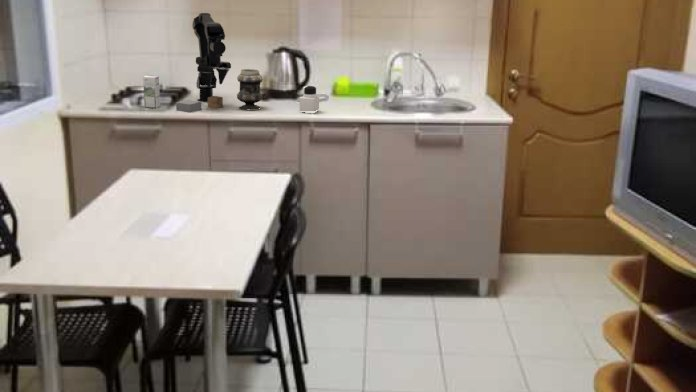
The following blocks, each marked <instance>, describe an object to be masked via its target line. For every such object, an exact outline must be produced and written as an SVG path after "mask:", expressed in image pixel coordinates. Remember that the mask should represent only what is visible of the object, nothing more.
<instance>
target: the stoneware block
mask: <svg viewBox="0 0 696 392" xmlns="http://www.w3.org/2000/svg"><path fill="white" fill-rule="evenodd" d="M175 104H176V105H175V106H176V110H175V111H176V112H177V111H179V112H184V113H194V112H199V111H202V101H198V100H190V99H186V100H181V101H177V102H175Z"/></svg>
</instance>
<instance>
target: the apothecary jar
mask: <svg viewBox="0 0 696 392" xmlns="http://www.w3.org/2000/svg"><path fill="white" fill-rule="evenodd" d="M236 79H237V81H238V82H239V91H238V93H236V98H237V100H239V102H241V103H244V104H243V105H240V106H239V107H238V108H239V109H240V108H241V109H240V110H242V109H258V110H260V109H261V107H260V106H259V105H257V103H259V102H261V101H262V100H263V96H264V95H263V94H262V93H261V83H262V82H263V80H264V78H263V76H262V75H261V74H260V70H258V69H254V68H253V69H251V68H244V69H241V70H240V74H238V76H237V78H236ZM259 108H260V109H259Z"/></svg>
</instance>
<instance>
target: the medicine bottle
mask: <svg viewBox="0 0 696 392" xmlns="http://www.w3.org/2000/svg"><path fill="white" fill-rule="evenodd" d="M302 95H303V96H300V97H299V110H300V111H316V110H318V109H319V110H320V96H317V88H316V86H312V85H306V86H303V88H302Z"/></svg>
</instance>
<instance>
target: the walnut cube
mask: <svg viewBox="0 0 696 392" xmlns="http://www.w3.org/2000/svg"><path fill="white" fill-rule="evenodd" d="M223 99H224V98H223V96H218V95H217V96H216V95H213V96H211V97H208V102H207V109H212V110H213V109H214V110H219V109H221V108H222V107H223V108H224V104H223V103H224V100H223ZM218 108H219V109H218Z"/></svg>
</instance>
